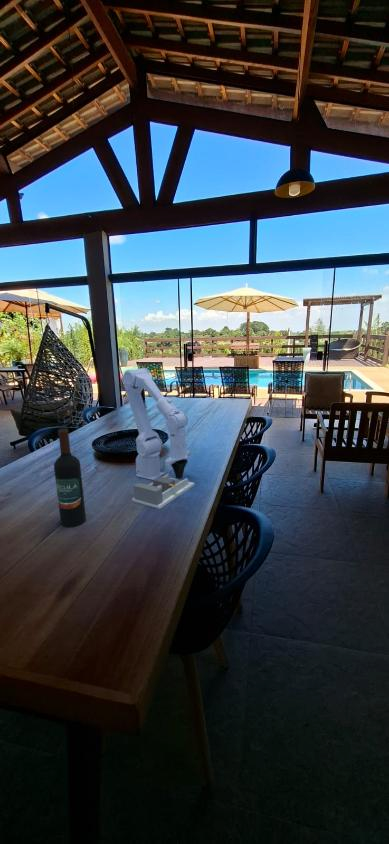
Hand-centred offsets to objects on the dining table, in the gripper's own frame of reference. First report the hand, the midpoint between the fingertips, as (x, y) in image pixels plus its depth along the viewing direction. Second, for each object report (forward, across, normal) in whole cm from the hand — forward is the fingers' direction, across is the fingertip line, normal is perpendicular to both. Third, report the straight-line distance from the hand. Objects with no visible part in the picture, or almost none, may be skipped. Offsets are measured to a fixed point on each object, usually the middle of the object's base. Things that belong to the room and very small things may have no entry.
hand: (179, 477), depth 142 cm
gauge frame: (+2, -10, 0) cm, 10 cm away
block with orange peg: (+1, -11, -1) cm, 11 cm away
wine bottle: (+3, -41, +12) cm, 43 cm away
